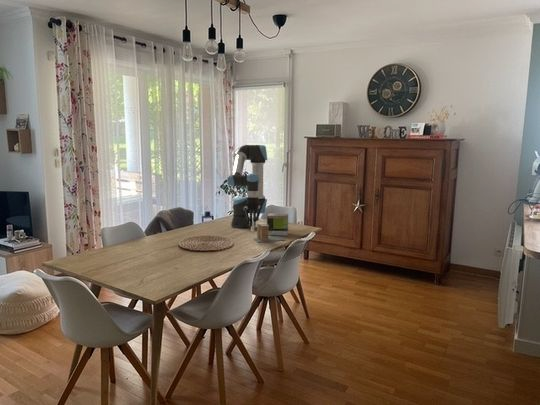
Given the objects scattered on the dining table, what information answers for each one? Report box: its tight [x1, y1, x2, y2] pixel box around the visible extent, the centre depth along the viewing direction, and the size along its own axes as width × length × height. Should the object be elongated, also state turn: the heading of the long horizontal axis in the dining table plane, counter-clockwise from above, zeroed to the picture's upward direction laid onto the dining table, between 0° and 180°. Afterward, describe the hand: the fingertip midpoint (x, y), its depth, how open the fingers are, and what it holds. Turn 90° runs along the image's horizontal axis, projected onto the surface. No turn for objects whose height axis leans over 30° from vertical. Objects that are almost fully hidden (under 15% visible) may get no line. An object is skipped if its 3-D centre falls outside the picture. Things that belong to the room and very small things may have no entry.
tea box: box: [266, 213, 289, 236], centre depth 292 cm, size 15×10×15 cm, turn 84°
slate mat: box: [253, 235, 286, 244], centre depth 276 cm, size 10×20×1 cm, turn 112°
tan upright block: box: [256, 222, 270, 241], centre depth 273 cm, size 9×5×11 cm, turn 22°
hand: (252, 230), depth 270 cm, fingers closed
